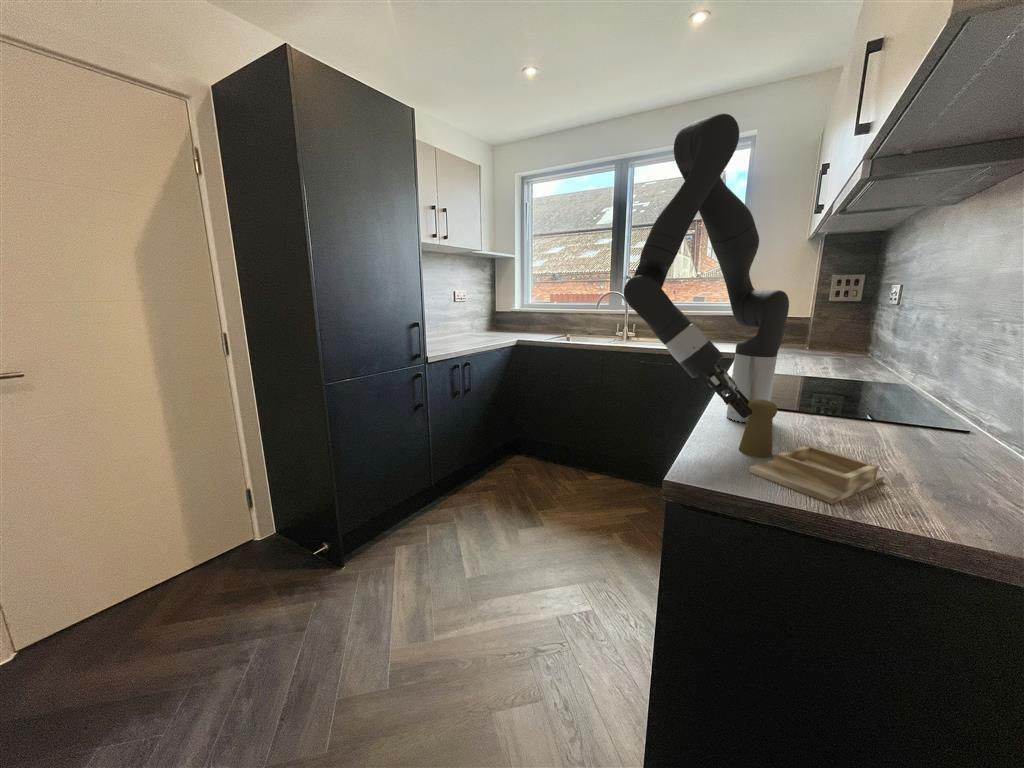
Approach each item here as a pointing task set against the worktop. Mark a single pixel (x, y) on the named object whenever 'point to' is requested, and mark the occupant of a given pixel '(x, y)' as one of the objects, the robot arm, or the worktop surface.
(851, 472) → the stand
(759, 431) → the cork
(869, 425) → the worktop surface
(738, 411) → the robot arm
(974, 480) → the worktop surface
